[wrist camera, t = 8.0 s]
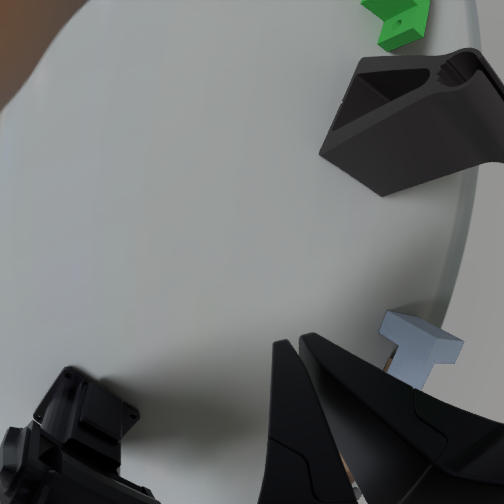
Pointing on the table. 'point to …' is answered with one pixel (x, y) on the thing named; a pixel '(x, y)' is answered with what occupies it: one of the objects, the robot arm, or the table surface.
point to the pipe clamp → (399, 20)
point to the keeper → (417, 347)
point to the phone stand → (417, 119)
